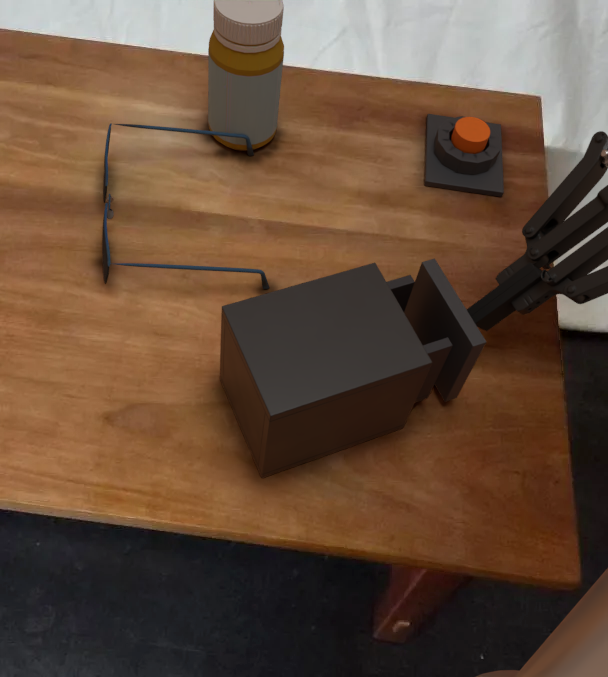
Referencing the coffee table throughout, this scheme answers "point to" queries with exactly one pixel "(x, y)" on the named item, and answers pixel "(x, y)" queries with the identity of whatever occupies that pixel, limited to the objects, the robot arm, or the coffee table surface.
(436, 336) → the pulled-out drawer
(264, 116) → the bottle
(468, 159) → the block
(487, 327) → the robot arm
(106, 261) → the sunglasses
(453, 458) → the coffee table surface
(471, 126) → the button
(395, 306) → the dark grey drawer box
